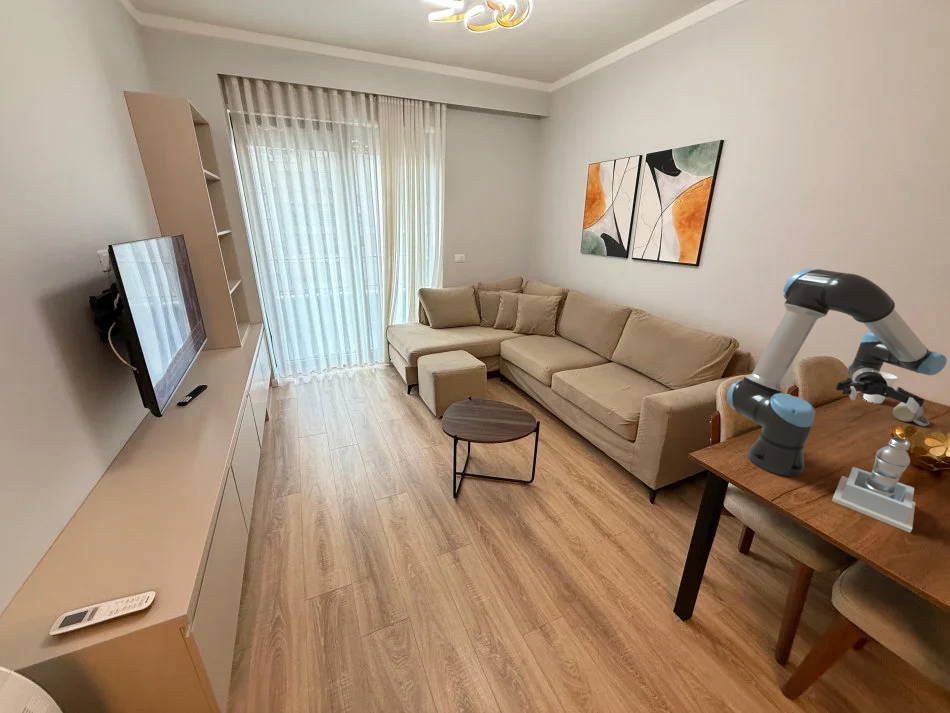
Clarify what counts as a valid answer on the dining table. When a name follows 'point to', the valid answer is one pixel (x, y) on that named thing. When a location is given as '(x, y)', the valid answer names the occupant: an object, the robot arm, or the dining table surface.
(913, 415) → the ceramic mug
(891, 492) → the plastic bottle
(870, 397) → the foam cup
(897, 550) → the dining table surface
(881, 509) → the box
